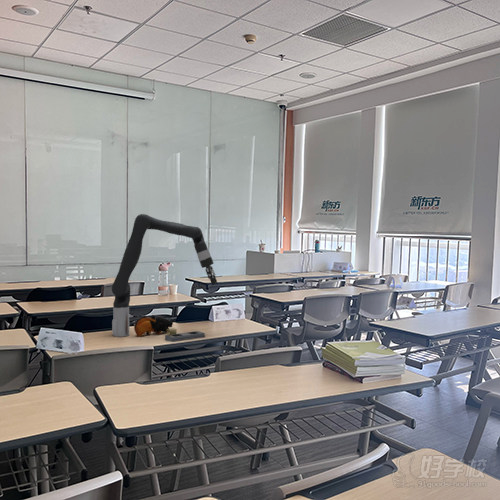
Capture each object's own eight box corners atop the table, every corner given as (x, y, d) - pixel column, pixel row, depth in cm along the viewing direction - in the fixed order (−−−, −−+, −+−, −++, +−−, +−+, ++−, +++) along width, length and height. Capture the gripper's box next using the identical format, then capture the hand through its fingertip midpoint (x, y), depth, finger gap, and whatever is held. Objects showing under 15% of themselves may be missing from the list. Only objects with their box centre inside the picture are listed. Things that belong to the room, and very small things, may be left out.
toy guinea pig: (167, 345, 302) (175, 322, 305) (134, 335, 290) (143, 311, 292) (161, 343, 309) (170, 320, 311) (129, 333, 296) (138, 309, 299)
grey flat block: (171, 342, 279) (171, 337, 279) (165, 339, 285) (165, 335, 285) (204, 337, 293) (204, 332, 293) (197, 334, 299) (197, 330, 299)
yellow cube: (170, 337, 291) (170, 330, 291) (166, 336, 294) (166, 329, 294) (176, 337, 293) (176, 329, 293) (172, 335, 297) (172, 328, 296)
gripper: (201, 260, 301) (210, 284, 302) (197, 261, 287) (207, 287, 287) (212, 255, 301) (221, 280, 301) (209, 256, 287) (219, 282, 287)
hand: (214, 283), depth 294 cm, fingers open, 8 cm apart
